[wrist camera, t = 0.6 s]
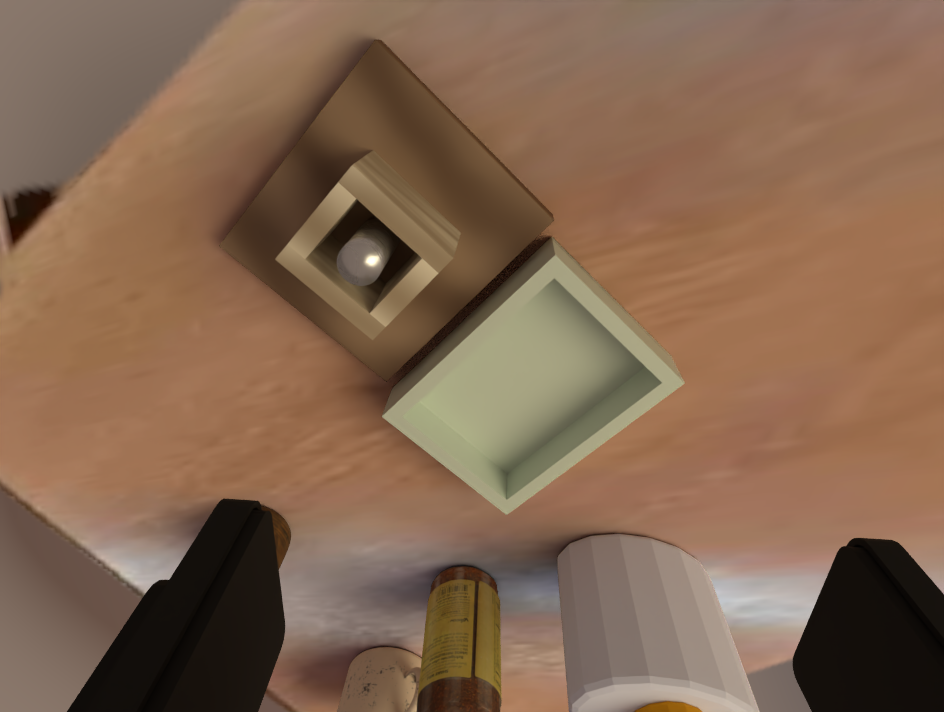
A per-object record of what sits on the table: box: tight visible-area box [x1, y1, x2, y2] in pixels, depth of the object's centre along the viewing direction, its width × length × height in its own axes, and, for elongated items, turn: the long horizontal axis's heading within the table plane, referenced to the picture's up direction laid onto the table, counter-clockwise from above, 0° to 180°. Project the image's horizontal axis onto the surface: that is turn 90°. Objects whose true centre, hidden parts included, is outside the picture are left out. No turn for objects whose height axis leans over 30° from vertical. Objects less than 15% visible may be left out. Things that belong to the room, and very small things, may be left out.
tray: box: [382, 237, 685, 515], centre depth 41 cm, size 16×12×4 cm
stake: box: [337, 215, 400, 286], centre depth 34 cm, size 2×2×6 cm
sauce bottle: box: [417, 566, 502, 712], centre depth 44 cm, size 7×6×20 cm
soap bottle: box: [557, 534, 760, 712], centre depth 41 cm, size 13×8×20 cm, turn 77°
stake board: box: [219, 40, 554, 382], centre depth 37 cm, size 16×14×2 cm
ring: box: [275, 150, 461, 340], centre depth 35 cm, size 7×7×5 cm
